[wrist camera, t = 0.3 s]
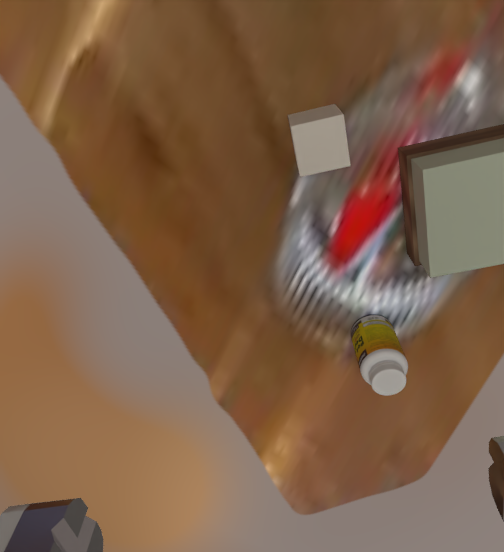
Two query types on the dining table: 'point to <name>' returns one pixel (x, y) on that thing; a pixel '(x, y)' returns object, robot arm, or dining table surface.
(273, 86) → the dining table surface
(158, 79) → the dining table surface
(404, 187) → the tower base
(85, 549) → the robot arm
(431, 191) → the tower top
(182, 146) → the dining table surface
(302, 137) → the cream block
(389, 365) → the supplement bottle
